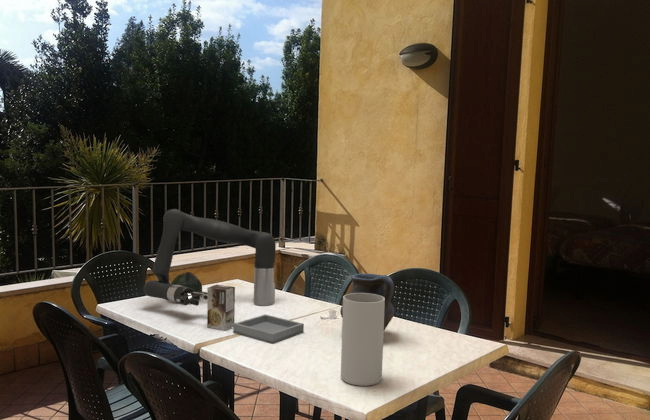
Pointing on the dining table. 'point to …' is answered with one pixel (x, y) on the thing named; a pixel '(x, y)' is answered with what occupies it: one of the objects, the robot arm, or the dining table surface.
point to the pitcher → (375, 291)
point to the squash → (188, 281)
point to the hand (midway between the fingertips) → (206, 301)
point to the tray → (268, 328)
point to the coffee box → (220, 307)
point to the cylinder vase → (362, 338)
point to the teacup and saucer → (331, 315)
